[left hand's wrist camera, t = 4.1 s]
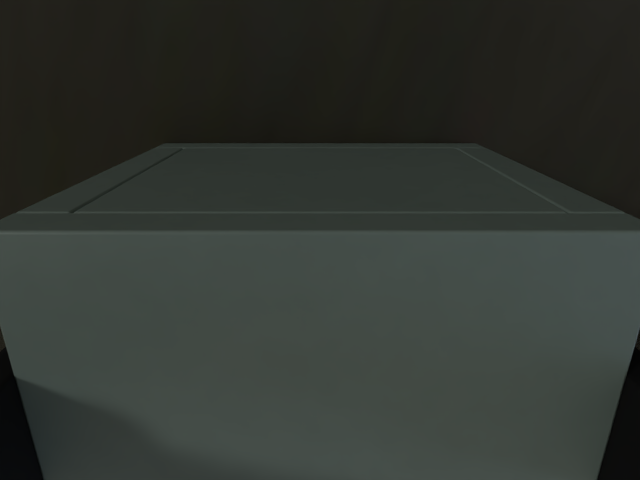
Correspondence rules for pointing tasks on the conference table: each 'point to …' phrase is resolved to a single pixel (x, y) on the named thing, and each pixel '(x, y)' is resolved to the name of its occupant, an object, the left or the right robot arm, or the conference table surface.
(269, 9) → the conference table surface
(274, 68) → the conference table surface
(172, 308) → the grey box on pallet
